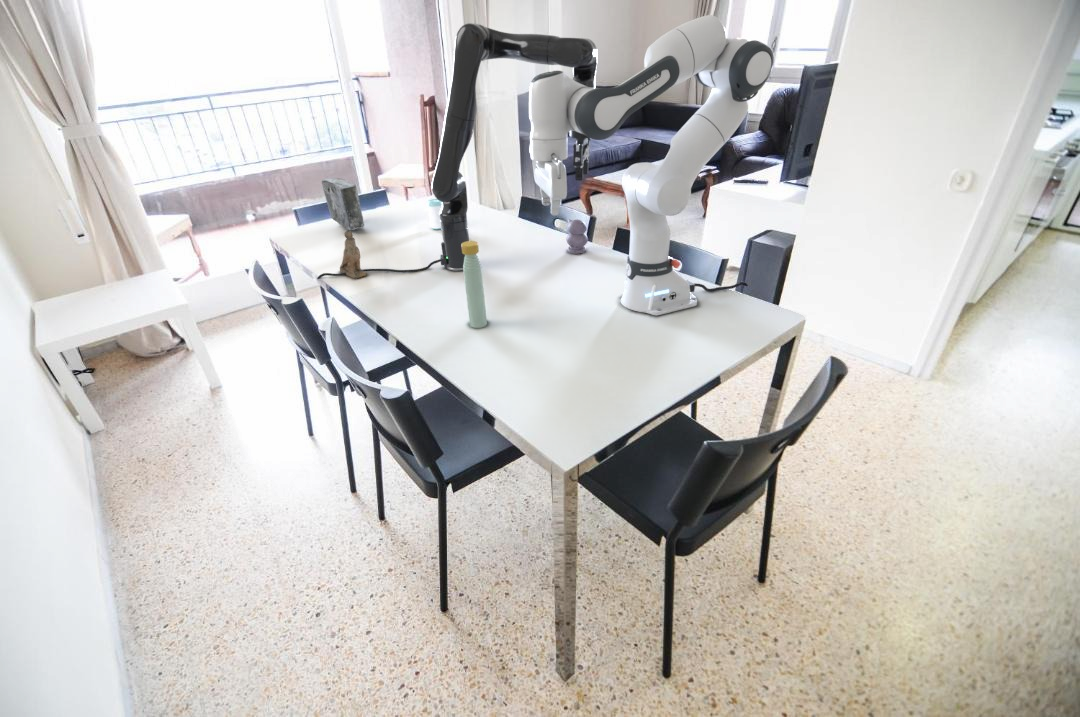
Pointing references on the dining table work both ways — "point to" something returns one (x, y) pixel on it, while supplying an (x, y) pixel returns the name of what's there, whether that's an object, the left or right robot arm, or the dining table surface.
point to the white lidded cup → (434, 213)
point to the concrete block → (343, 202)
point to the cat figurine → (576, 236)
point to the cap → (470, 247)
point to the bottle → (474, 291)
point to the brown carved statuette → (351, 258)
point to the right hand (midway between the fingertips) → (550, 209)
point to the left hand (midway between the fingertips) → (581, 177)
